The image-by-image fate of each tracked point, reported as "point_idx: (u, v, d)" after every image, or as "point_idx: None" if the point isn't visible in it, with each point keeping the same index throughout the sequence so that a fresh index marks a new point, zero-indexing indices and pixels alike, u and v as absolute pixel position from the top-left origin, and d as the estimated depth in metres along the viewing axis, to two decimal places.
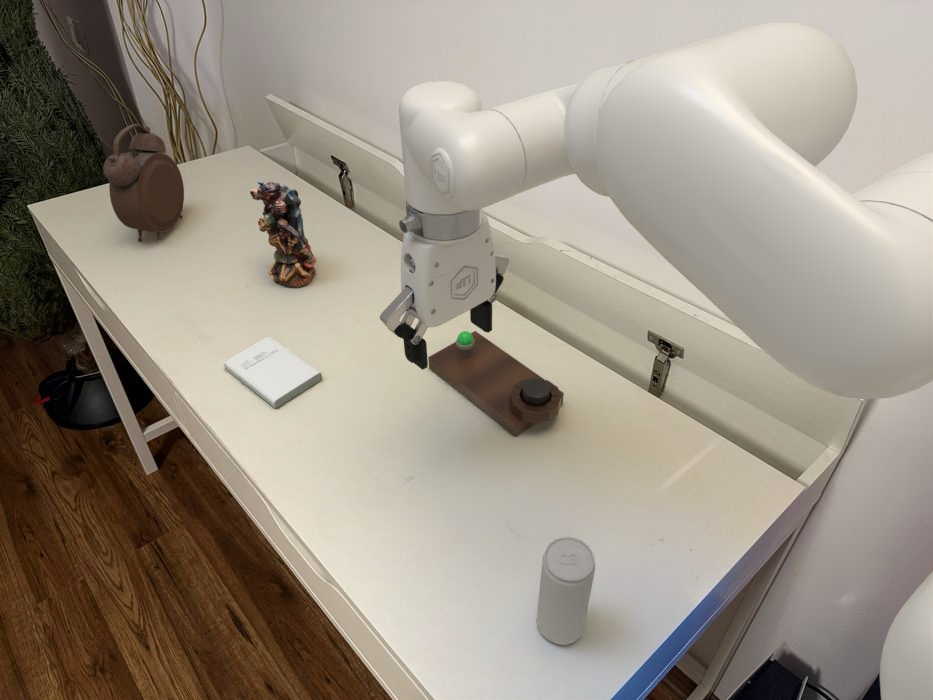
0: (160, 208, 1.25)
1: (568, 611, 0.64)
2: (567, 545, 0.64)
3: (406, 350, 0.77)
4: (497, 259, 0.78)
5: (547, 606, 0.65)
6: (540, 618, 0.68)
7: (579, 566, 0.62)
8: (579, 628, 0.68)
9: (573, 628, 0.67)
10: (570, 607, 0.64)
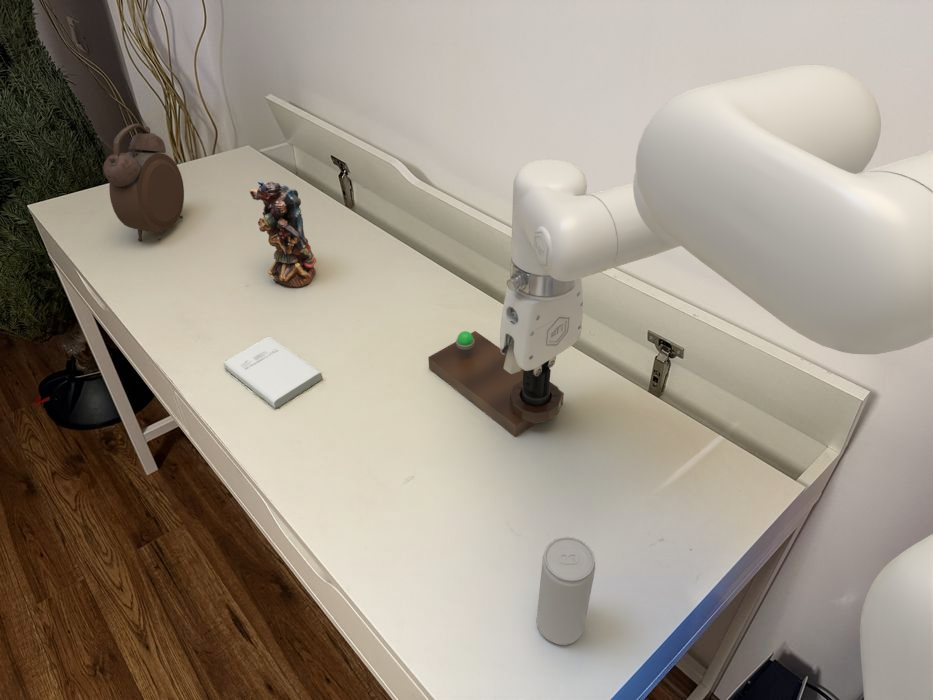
0: (160, 208, 1.25)
1: (568, 611, 0.64)
2: (567, 545, 0.64)
3: (525, 380, 0.88)
4: None
5: (547, 606, 0.65)
6: (540, 618, 0.68)
7: (579, 566, 0.62)
8: (579, 628, 0.68)
9: (573, 628, 0.67)
10: (570, 607, 0.64)
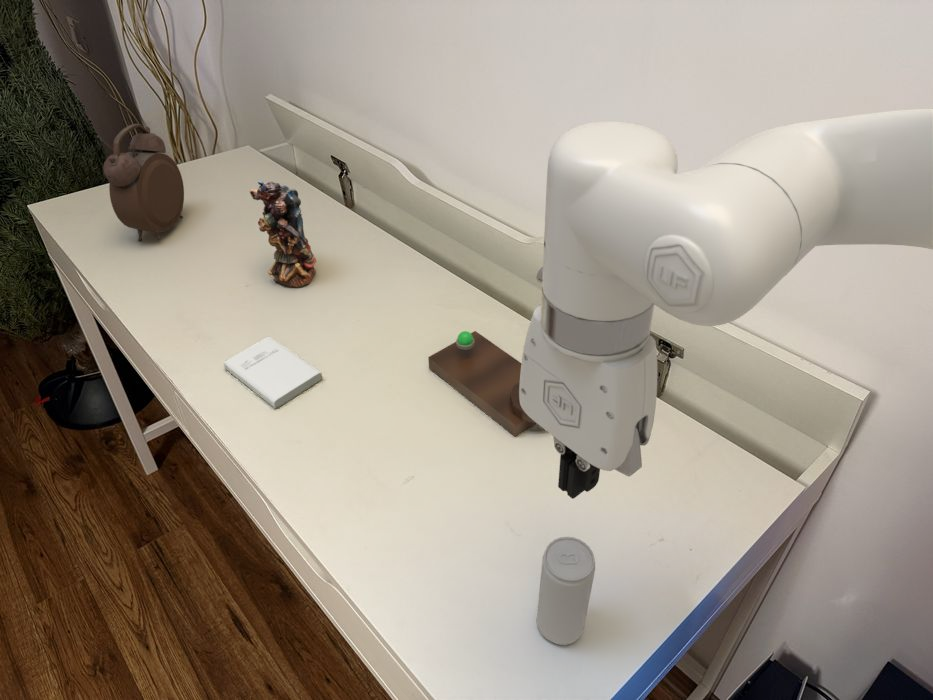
0: (160, 208, 1.25)
1: (568, 611, 0.64)
2: (567, 545, 0.64)
3: None
4: (626, 454, 0.51)
5: (547, 606, 0.65)
6: (540, 618, 0.68)
7: (579, 566, 0.62)
8: (579, 628, 0.68)
9: (573, 628, 0.67)
10: (570, 607, 0.64)
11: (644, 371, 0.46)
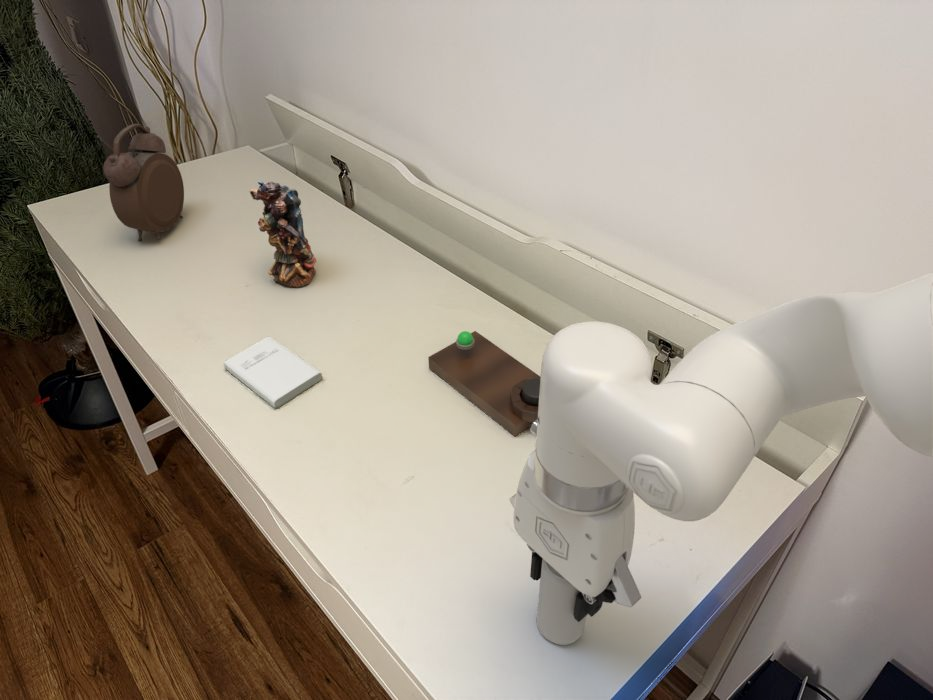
0: (160, 208, 1.25)
1: (568, 611, 0.64)
2: None
3: None
4: (621, 586, 0.57)
5: (547, 606, 0.65)
6: (540, 618, 0.68)
7: None
8: (579, 628, 0.68)
9: (573, 628, 0.67)
10: (570, 607, 0.64)
11: (623, 521, 0.54)
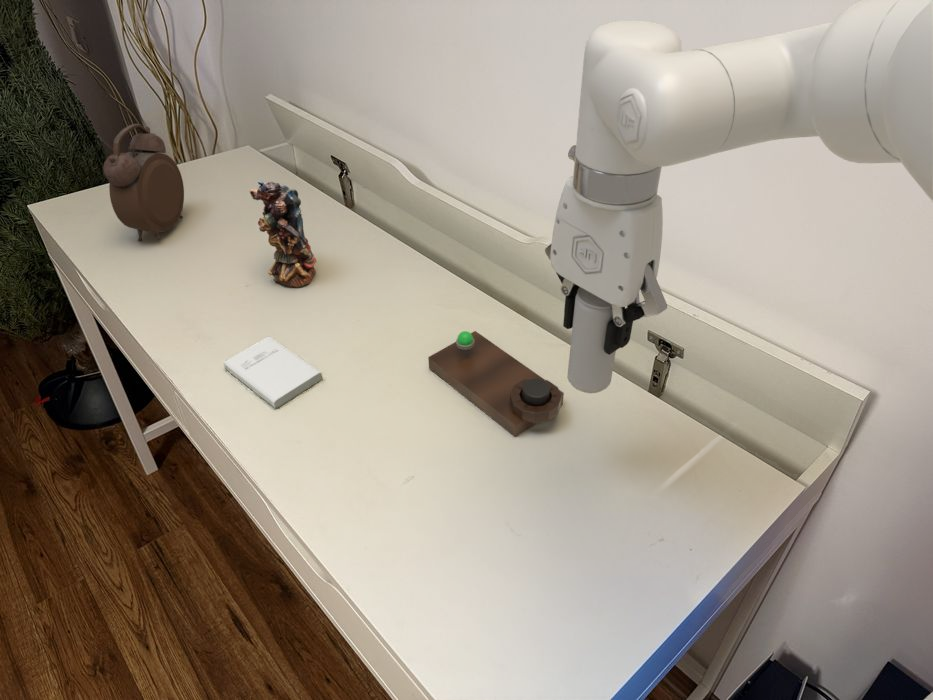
0: (160, 208, 1.25)
1: (599, 347, 0.71)
2: None
3: None
4: (650, 294, 0.64)
5: (579, 346, 0.72)
6: (572, 366, 0.75)
7: None
8: (607, 373, 0.74)
9: (602, 371, 0.74)
10: (600, 342, 0.71)
11: (653, 219, 0.60)
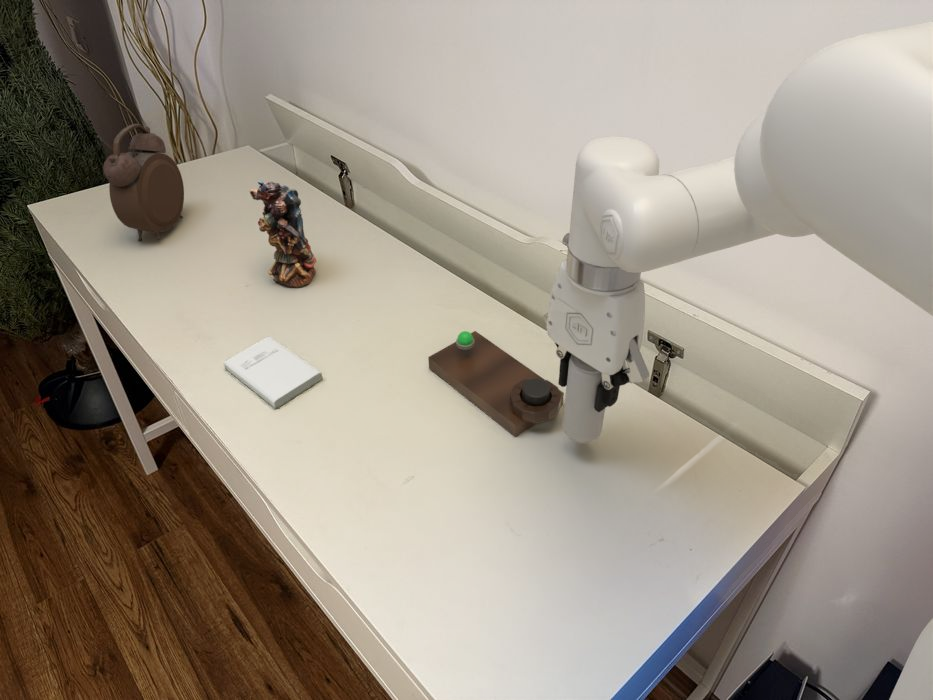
0: (160, 208, 1.25)
1: (590, 405, 0.80)
2: None
3: None
4: (634, 364, 0.72)
5: (572, 403, 0.81)
6: (566, 420, 0.84)
7: None
8: (598, 426, 0.83)
9: (593, 424, 0.82)
10: (591, 400, 0.79)
11: (636, 303, 0.69)
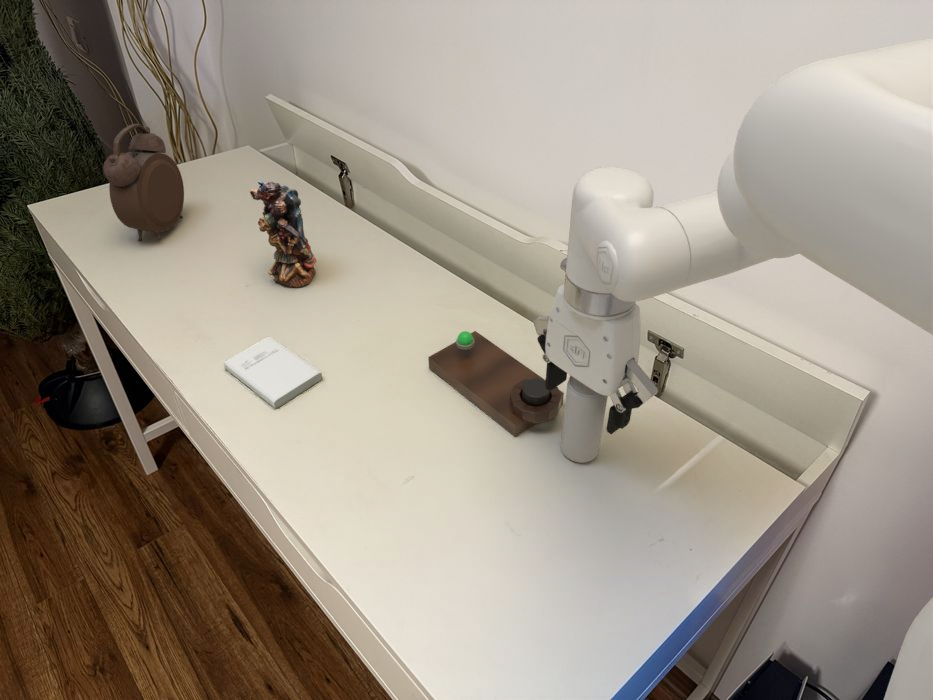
0: (160, 208, 1.25)
1: (587, 426, 0.82)
2: None
3: None
4: (638, 381, 0.73)
5: (570, 425, 0.83)
6: (564, 440, 0.86)
7: None
8: (595, 447, 0.85)
9: (590, 445, 0.84)
10: (588, 422, 0.82)
11: (632, 327, 0.71)
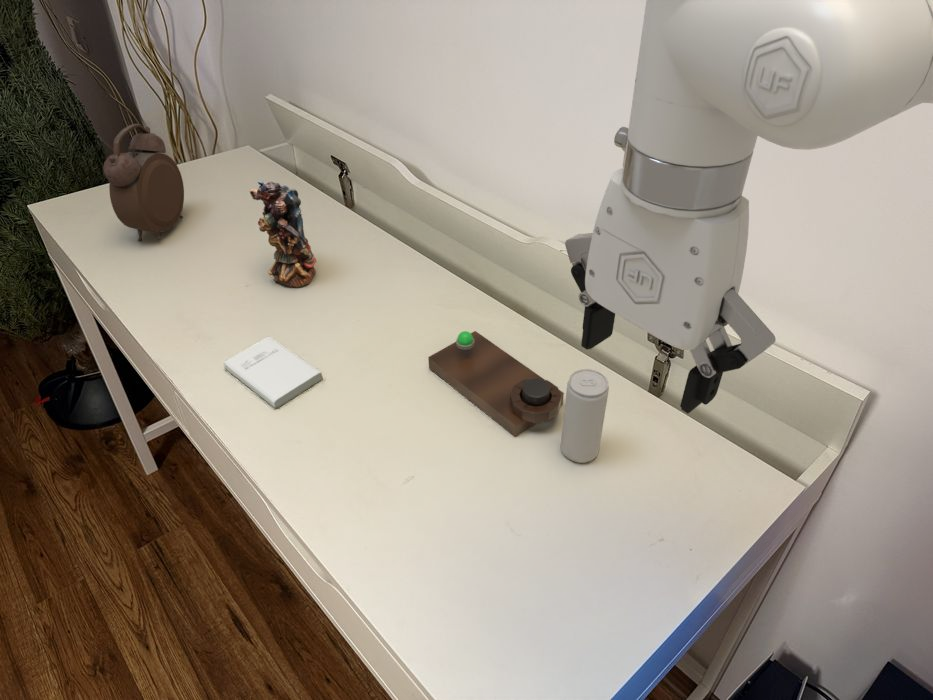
0: (160, 208, 1.25)
1: (587, 426, 0.82)
2: (586, 374, 0.82)
3: None
4: (743, 324, 0.45)
5: (570, 425, 0.83)
6: (564, 440, 0.86)
7: (596, 387, 0.80)
8: (595, 447, 0.85)
9: (590, 445, 0.84)
10: (588, 422, 0.82)
11: (738, 231, 0.43)
